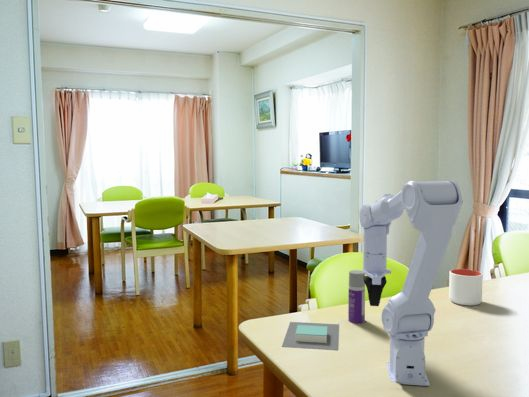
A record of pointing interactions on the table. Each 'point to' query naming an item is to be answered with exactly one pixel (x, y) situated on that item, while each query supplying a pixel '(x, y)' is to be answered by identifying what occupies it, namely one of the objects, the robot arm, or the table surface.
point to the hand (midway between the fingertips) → (374, 305)
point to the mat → (330, 345)
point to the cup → (465, 287)
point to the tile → (311, 333)
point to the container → (356, 297)
